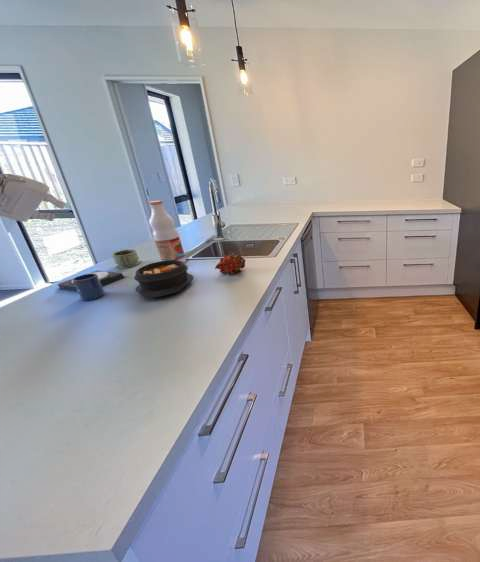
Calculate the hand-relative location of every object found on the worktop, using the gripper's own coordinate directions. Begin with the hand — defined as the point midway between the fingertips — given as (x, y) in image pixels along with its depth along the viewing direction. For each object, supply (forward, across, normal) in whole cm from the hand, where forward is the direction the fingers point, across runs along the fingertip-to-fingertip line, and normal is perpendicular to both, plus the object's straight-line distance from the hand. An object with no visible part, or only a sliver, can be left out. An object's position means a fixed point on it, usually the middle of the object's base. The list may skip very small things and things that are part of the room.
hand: (59, 212), depth 95 cm
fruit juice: (+42, +17, -5) cm, 46 cm away
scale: (+19, +28, +9) cm, 35 cm away
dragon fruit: (+52, -14, +8) cm, 54 cm away
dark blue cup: (+18, +15, +20) cm, 30 cm away
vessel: (+31, +34, -6) cm, 46 cm away
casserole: (+34, -2, +17) cm, 38 cm away
